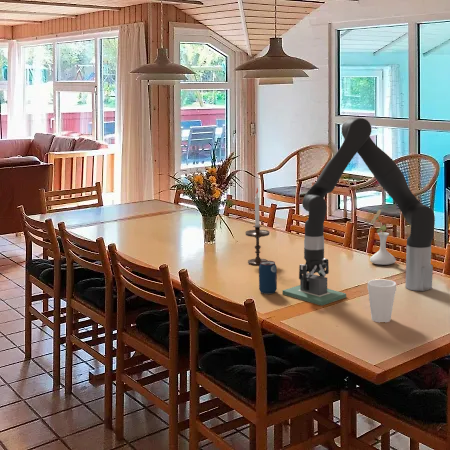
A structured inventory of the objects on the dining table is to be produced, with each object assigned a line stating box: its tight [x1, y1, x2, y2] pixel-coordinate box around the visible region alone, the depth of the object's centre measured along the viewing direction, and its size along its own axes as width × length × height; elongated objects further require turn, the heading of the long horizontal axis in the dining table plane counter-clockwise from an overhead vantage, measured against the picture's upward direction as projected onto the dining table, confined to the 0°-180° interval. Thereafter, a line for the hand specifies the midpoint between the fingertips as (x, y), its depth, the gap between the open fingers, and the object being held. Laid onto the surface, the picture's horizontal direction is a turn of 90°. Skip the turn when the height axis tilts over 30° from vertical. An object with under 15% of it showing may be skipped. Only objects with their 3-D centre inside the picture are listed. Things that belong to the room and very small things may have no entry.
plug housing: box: [299, 273, 328, 296], centre depth 259 cm, size 10×5×6 cm, turn 41°
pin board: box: [282, 285, 347, 307], centre depth 259 cm, size 20×14×6 cm
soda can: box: [258, 260, 278, 295], centre depth 265 cm, size 7×7×12 cm
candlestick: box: [245, 187, 270, 266], centre depth 306 cm, size 11×11×35 cm
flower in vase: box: [369, 209, 397, 266], centre depth 300 cm, size 13×11×25 cm
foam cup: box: [367, 278, 397, 323], centre depth 230 cm, size 10×9×13 cm
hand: (314, 287), depth 259 cm, fingers open, 8 cm apart
